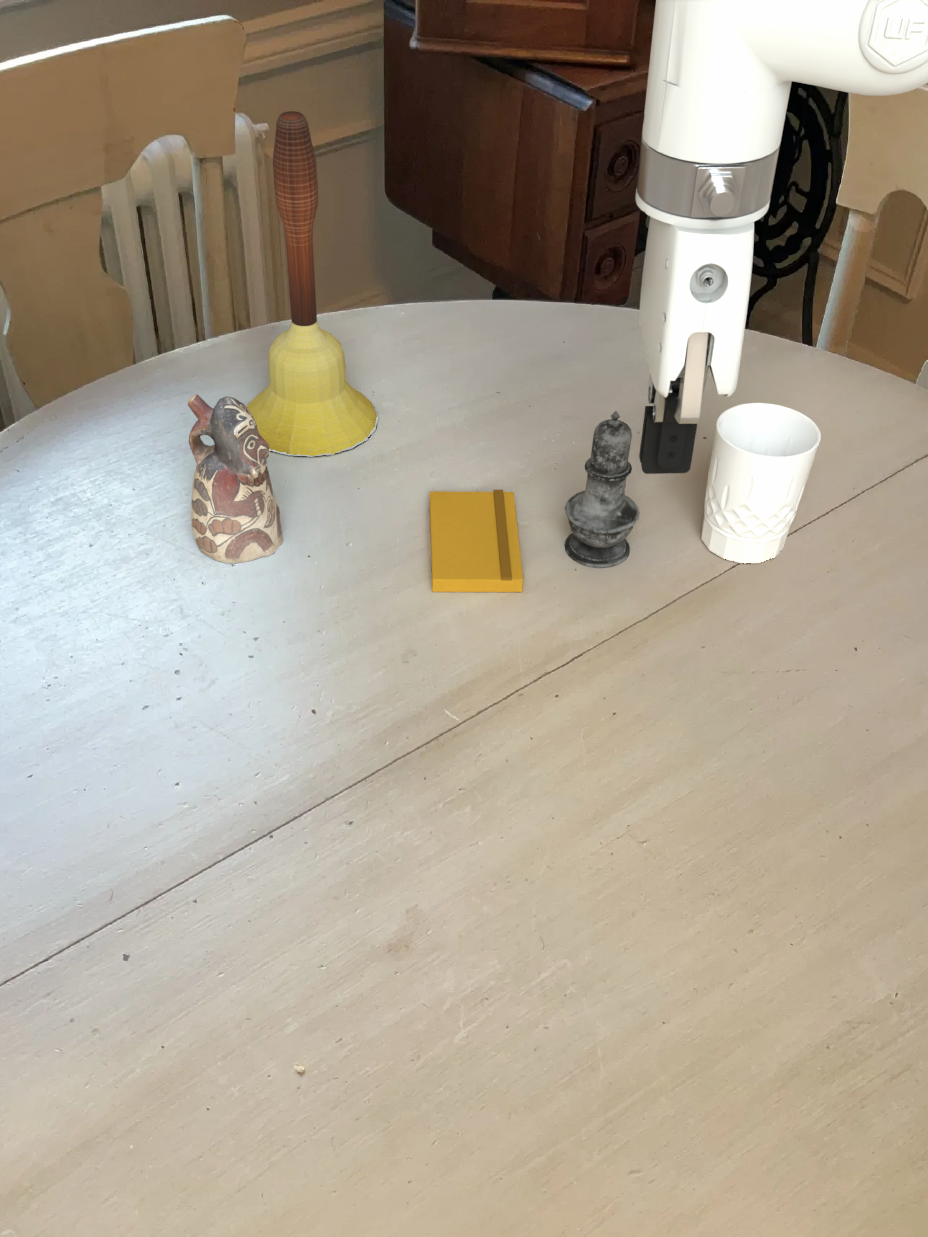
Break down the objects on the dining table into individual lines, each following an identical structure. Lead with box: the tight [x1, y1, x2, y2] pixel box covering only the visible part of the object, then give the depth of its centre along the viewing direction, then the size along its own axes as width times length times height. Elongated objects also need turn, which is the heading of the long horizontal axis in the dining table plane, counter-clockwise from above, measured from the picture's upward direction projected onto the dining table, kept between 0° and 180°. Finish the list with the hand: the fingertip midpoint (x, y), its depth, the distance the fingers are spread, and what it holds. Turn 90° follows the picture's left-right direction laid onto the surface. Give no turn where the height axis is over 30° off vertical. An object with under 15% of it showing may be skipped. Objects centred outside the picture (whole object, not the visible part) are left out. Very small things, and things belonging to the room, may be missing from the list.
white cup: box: [700, 402, 822, 564], centre depth 99 cm, size 8×8×10 cm
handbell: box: [246, 110, 378, 456], centre depth 104 cm, size 12×12×25 cm
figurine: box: [187, 394, 284, 565], centre depth 97 cm, size 7×7×12 cm
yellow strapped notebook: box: [429, 489, 524, 593], centre depth 101 cm, size 12×7×1 cm, turn 2°
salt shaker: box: [564, 410, 641, 569], centre depth 97 cm, size 6×6×12 cm
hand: (663, 466), depth 84 cm, fingers closed
